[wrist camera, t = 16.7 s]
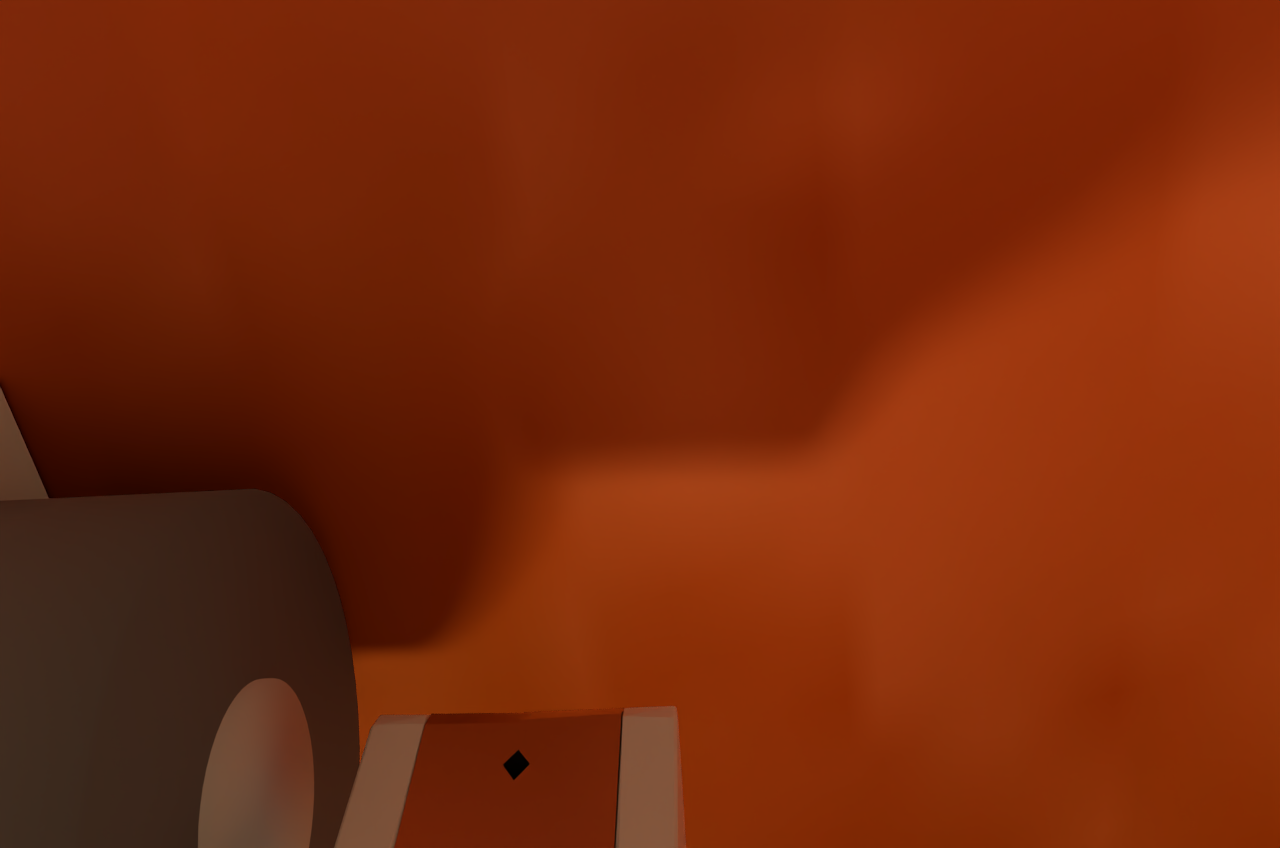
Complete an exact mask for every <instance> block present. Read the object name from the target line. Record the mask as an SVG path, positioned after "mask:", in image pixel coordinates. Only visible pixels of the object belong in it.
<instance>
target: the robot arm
mask: <svg viewBox="0 0 1280 848" xmlns="http://www.w3.org/2000/svg"><path fill="white" fill-rule="evenodd" d="M334 848H686V838H685V820H684V803H683V786H682V771H681V756H680V740H679V725H678V713H677V707H675V706H661V707H636V708H625V709H624V708H609V709H585V710H562V711H539V712H524V713H459V714H431V715H380V716H379V718H378V719H377V720H376V722H375V723H374V725H373V726H372V727H371V729H370V732H369V736H368V739H367V742H366V745H365V749H364V752H363V755H362V758H361V762H360V765H359V768H358V771H357V775H356V778H355V781H354V784H353V788H352V791H351V794H350V797H349V801H348V804H347V807H346V811H345V814H344V817H343V820H342V824H341V827H340V830H339V833H338V837H337V840H336V843H335V846H334Z"/></svg>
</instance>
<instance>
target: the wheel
mask: <svg viewBox="0 0 1280 848" xmlns="http://www.w3.org/2000/svg"><path fill="white" fill-rule="evenodd" d="M359 757H360V747H359V721H358V706H357V693H356V682H355V674H354V667H353V659H352V652H351V646H350V641H349V635H348V630H347V625H346V620H345V616H344V612H343V608H342V604H341V600H340V597H339V593H338V590H337V587H336V584H335V581H334V578H333V575H332V572H331V570H330V567H329V565H328V562H327V560H326V558H325V555H324V553H323V551H322V549H321V547H320V545H319V543H318V541H317V540H316V538H315V536H314V534H313V532H312V531H311V529H310V528H309V527H308V525H307V524H306V522H305V521H304V520H303V518H302V517H301V516H300V514H299V513H297V512H296V511H295V510H294V509H293V508H292V507H291V506H290V505H289V504H288V503H287V502H286V501H284V500H282V499H281V498H279V497H277V496H276V495H274V494H272V493H270V492H266V491H262V490H258V489H238V490H216V491H195V492H174V493H153V494H132V495H111V496H89V497H68V498H47V499H26V500H5V501H0V848H334V846H335V843H336V840H337V837H338V833H339V830H340V827H341V824H342V820H343V817H344V814H345V811H346V807H347V804H348V801H349V797H350V794H351V791H352V788H353V784H354V781H355V778H356V775H357V771H358V768H359Z"/></svg>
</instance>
